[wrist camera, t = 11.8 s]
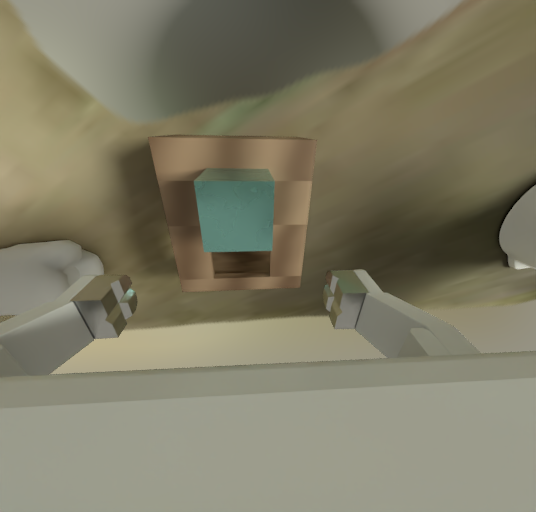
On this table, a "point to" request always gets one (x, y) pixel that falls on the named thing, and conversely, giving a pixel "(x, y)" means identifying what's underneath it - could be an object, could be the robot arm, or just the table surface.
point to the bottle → (41, 273)
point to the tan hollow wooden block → (187, 218)
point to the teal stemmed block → (235, 209)
